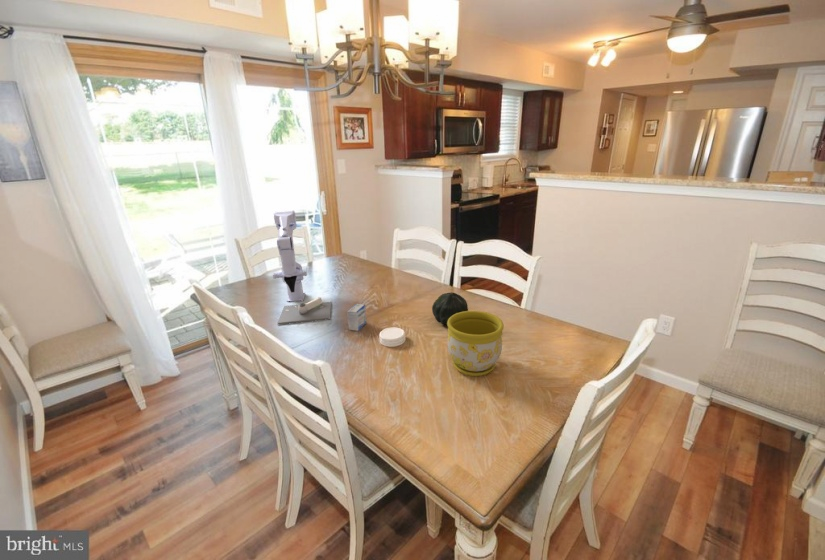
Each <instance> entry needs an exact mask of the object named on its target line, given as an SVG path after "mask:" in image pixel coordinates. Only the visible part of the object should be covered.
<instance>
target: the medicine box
mask: <svg viewBox="0 0 825 560" xmlns="http://www.w3.org/2000/svg"><path fill="white" fill-rule="evenodd" d="M346 314H347V322H348V325H347V326H348V330H349V331H354V332H355V331H356V332H358V331H360V330H361V328H362V327H364V326H365V325H366V324H367V313H366V305H365V304H362V303H361V304H360V303H356V304H354V305H353V306H352V307H350V308H349V309H348V310H347V311H346Z"/></svg>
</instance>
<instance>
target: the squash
mask: <svg viewBox="0 0 825 560" xmlns="http://www.w3.org/2000/svg"><path fill="white" fill-rule="evenodd" d="M431 311H432V315H433V316H434V318H435V320H436V322H438V323H441V324H443V325H445V324H446V325H447V321H448V319H449V318H450V317H451V316H452V315H454V314H456V313H459V312H464V311H469V308H468V301H466V299H465V298H464V297H463V296H462V295H460V294H457V293H455V292H447V293H442V294H441V295H439V296H438V298H436V299H435V300H434V302H433V304H432V306H431Z"/></svg>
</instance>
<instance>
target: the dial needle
mask: <svg viewBox="0 0 825 560" xmlns="http://www.w3.org/2000/svg"><path fill="white" fill-rule="evenodd" d="M322 302H323V300H322V297H320V296H319V297H317V298H315V299H312V300H310V301H309V302H306V303H300V304H297V305H298V311H299V314H306V313H307V312H308V310H310V309H312V308H314V307H316V306H318V305H320V304H322Z"/></svg>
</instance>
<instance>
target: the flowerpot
mask: <svg viewBox="0 0 825 560" xmlns="http://www.w3.org/2000/svg"><path fill="white" fill-rule="evenodd" d="M446 326H447V332H448V335H447V351H448V353H449V356H450V358H451V360H452V365H453V367H455V369H456V370H457V371H458V372H460V373H461V374H463V375H466V376H470V377H481V376H486V375H488V374H489V373H491V372H492V371H493V370H494V369H495V367H496V363H497V362H498V360H499V359H500V356H501V354H502V350H503V339H502V338H503V337H502V335H503V330H504V328H505V327H504V322H503V320H502V319H501V318H500V317H499V316H498V315H497V316H496V315H494V314H493V313H490V312H486V311H481V310H479V311H478V310H468V311H464V312H459V313H456V314H454V315H452V316H451V317H450V318H449V319H448V321H447V324H446Z"/></svg>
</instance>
